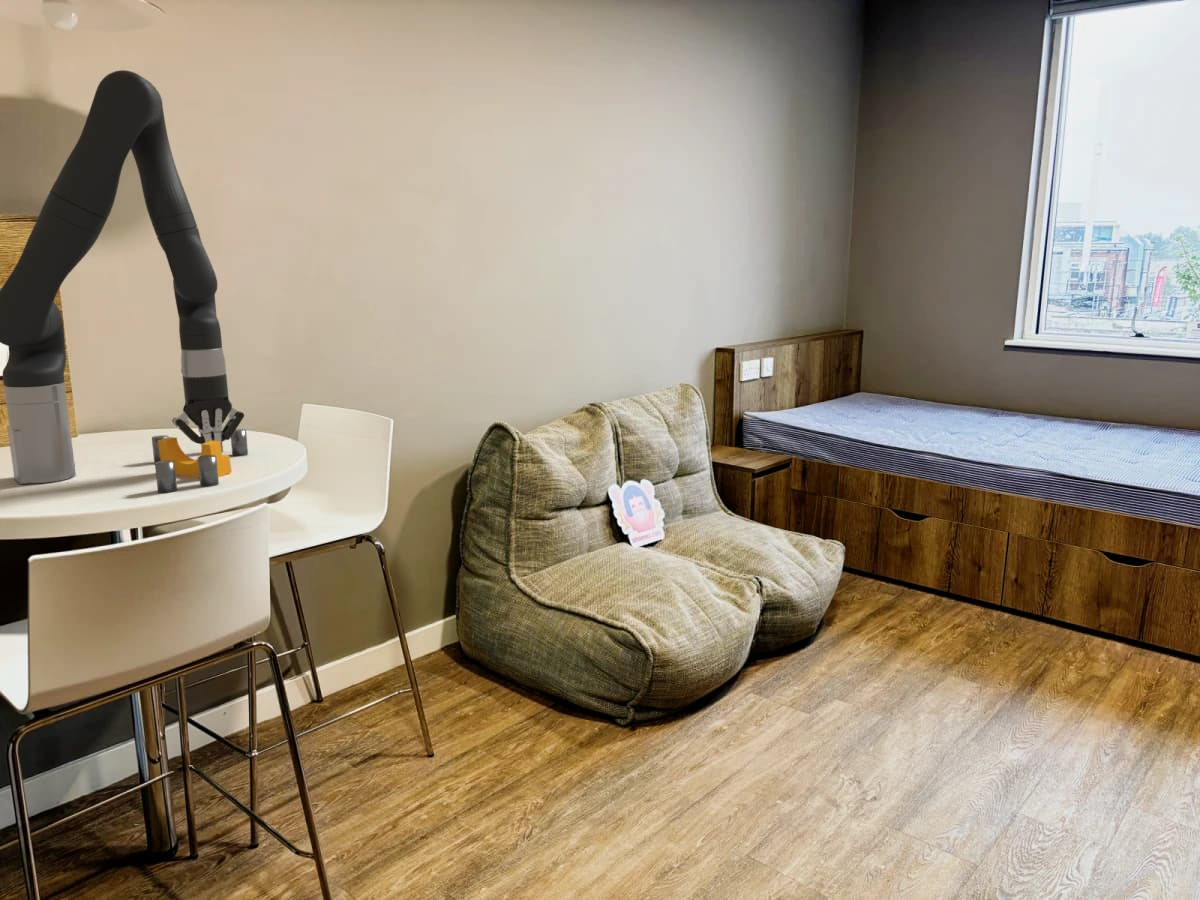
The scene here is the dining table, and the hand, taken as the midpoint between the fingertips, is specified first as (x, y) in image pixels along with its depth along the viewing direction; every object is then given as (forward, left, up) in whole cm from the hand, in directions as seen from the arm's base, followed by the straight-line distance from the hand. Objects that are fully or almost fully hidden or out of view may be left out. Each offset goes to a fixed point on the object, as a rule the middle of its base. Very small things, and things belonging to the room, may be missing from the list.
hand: (213, 463), depth 171 cm
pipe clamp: (-4, -2, -1) cm, 4 cm away
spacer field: (-2, +2, -1) cm, 3 cm away
